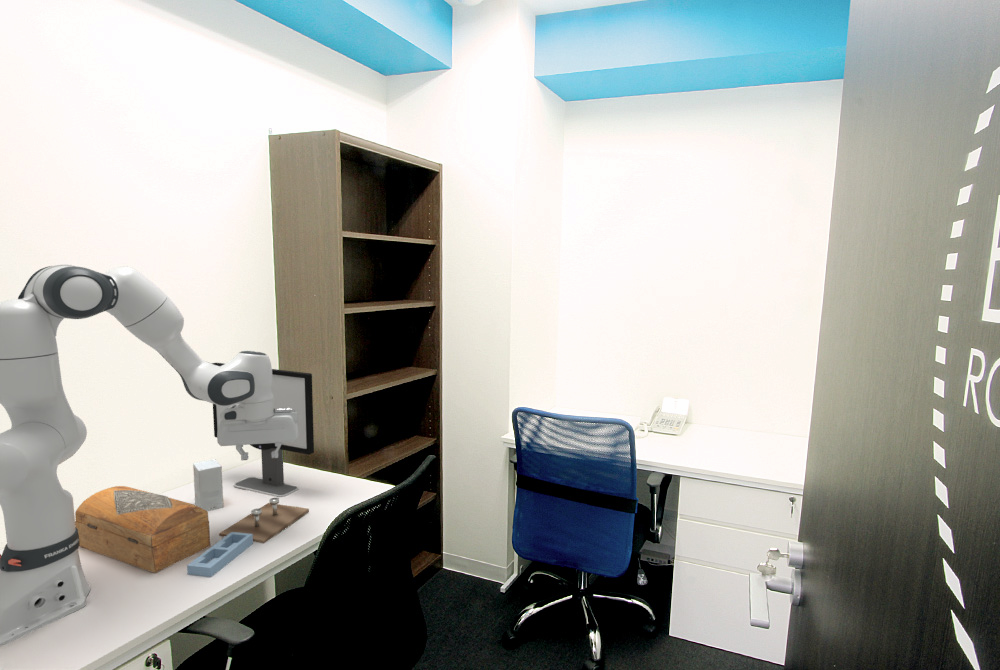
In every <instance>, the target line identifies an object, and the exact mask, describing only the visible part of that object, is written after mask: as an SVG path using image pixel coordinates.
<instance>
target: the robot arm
mask: <svg viewBox="0 0 1000 670" xmlns="http://www.w3.org/2000/svg"><path fill="white" fill-rule="evenodd" d="M104 312H106V313H108V314H110V315H111V316H113V317H114V318H115V319H116V320H117V321H118V322H119V323H120V324H121V326H123V327H124V328H125V329H126V330H127V331H128V332H130V334H132V335H133V336H134V337H136V338H137V339H138V340H139V341H141V342H142V343H143V344H145V345H147V346H149V347H150V348H151V349H153V350H155V351H157V353H158V354H159V355H160V356H161V357H162V358H163V359H164V360H165V361H166V362H167V363H168V364H169V365H170V366H171V367H172V368H173V369H174V370H175V371H176V372H177V374H178V375H179V377H180V378H181V380H182V383H183V386H184V389H185V391H186V393H187V395H189V396H190V397H191V398H193V399H195V400H198V401H204V402H206V403H210V404H212V405H213V404H216V405H220V406H227V405H231V404H235V403H237V402H239V404H236V405H234V406H231V407H228V408H226V409H225V410H224V411H222V412H221V414H220V419H221V420H222V421H221V422H220V423H219V425H218V431H217V440H216V441H217V444H218V445H219V446H220V447H230V446H232V447H233V446H235V450H236V452H238V454H239V455H240V459H241V460H240V461H248V460H249V452H247V451H245V450H244V449H243V448H244V445H245V446H246V445H247V446H248V445H249V444H265V443H275V446H278V447H277V448H276V450H274V451H272V452H271V455H272V458H278V450H279V449H280V447H281V445H282V442H294V441H295V440H296V439H297V437H298V428H297V421H298V414H297V412H296V411H295V410H293V409H292V408H286V409H282V408H280V409H275V408H274V395H273V393H272V384H273V375H272V369H273V368H272V362H271V359H270V357H269V355H268V354H266V353H264V352H260V351H254V350H242V351H239V352H237V354H236V356H235V357H233V358H232V359H231V360H230V361H228V362H226V363H224V365H222V366H217V365H214V364H212V363H213V362H208V361H205V360H204V359H203V358H201V357H200V356H199V354H197V352H196V351H195V350H194V349H193V348H192V347H191V346H190V345H189V344H188V343H187V342H186V341H185V339H184V337H183V336H182V333H181V332H182V331H183V328H184V325H185V320H184V319H185V318H184V316H183V314H182V313H181V311H180V309H179V308H178V307H177V305H176V304H175V303H174V301H172V299H170V297H168V295H167V294H166V293H165V292H164V291H163V290H161V288H160V287H158V285H156V284H155V283H154V282H153V281H151V280H150V279H149V278H148V277H146V276H145V275H144V274H142V273H141V272H140V271H138V270H136V269H135V268H133V267H129V266H117V267H114V268H111V269H109V270H108V271H107V270H106V272H104V273H102V272H99V271H97V270H93V269H90V268H87V267H83V266H76V265H72V264H55V265H49V266H45V267H42V268H41V269H39V270H37V271H35V272H34V273H33V274H32V275H31V276H30V277H29V278H28V280H27V282H26V283H25V285H24V287H23V288H22V290H21V292H20V294H19V295H18V297H17V299H15V298H13V299H8V300H4V301H0V404H1V406H2V407H3V408H4V410H5V412H6V413H7V416H8V417H9V421H10V423H11V427H10V428H9V429H7V430H5V431H3V432H0V509H1V510H2V514H3V521H4V527H5V528H4V529H5V537H6V538H5V539H6V544H5V546H4V549H3V550H2V553H0V647H1V646H5V645H7V644H8V643H11V642H14V641H15V640H17V639H19V638H22V637H24V636H26V635H28V634H30V633H32V632H35V631H37V630H39V629H41V628H43V627H46V626H48V625H50V624H52V623H53V622H56V621H58V620H60V619H62V618H64V617H67V616H68V615H71V614H72V613H74V612H76V611H79V610H80V609H83V608H84V607H85V606H86V605H87V601H86V600H87V599H86V598H87V597H88V595H89V593H90V591H91V585H90V584H89V582H88V580H87V578H86V575H85V572H84V569H83V566H82V565H83V564H82V562H81V557H80V553H79V545H80V542H79V533H78V529H77V528H76V525H75V521H76V518H75V509H74V508H75V506H74V497H73V494H71V492H69V491H68V490H66V489H64V488H63V486H62V484H61V483H60V481H59V478H58V474H57V473H58V467H59V465H61V464H63V463H64V462H65V461H67V460H68V459H69V460H70V459H71V458H72V457H73V456H75V454H76V453H77V452H78V451H79V449H80V448H81V447H82V446H83V444H85V443H84V442H85V441H86V439H87V433H88V430H87V426H86V424H85V422H84V421H83V420H82V419H81V418H80V417H79V416H77V415H76V414H75V413H74V412H73V410H72V408H71V406H70V404H69V401H68V398H67V396H66V394H65V390H64V386H63V382H62V373H61V367H60V360H59V359H60V357H59V349H58V343H57V338H56V337H57V332H58V329H59V325H60V324H61V323H62V321H64V319H67V320H68V319H69V320H70V319H71V320H84V319H87V318H92V317H94V316H97V315H99V314H101V313H104ZM292 411H294V412H292Z"/></svg>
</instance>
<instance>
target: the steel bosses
mask: <svg viewBox="0 0 1000 670" xmlns="http://www.w3.org/2000/svg"><path fill="white" fill-rule="evenodd" d="M268 501H269V502H268V503H270V504H271V505H272V512H273V516H275V515H277V504H279V503H280V497H272V498H270V499H269V500H268ZM259 508H260V507H259ZM259 508H254V509H252V510H251V513H250V514H251V515H252V516H254V519H255V527H259V526H260V525H259V515H261V514H262V509H259Z"/></svg>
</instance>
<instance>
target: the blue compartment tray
mask: <svg viewBox="0 0 1000 670" xmlns="http://www.w3.org/2000/svg"><path fill="white" fill-rule="evenodd" d="M253 544H254V542H253V534H248V533H237V532H231V533H229V534H228V535H227V536H226V537H225V536H223V538H221V539H220V540H219V541H218V542H216V543H214V544H213V545H212V546H210V547H209V548H208V549H207V550H206V551H204V552H203V553H202V554H200V555H198V557H196V558H195V559H193V560H192V561H191V562H190V563H189V564H187V565H186V571H187V572H186V573H187V575H189V576H191V575H192V576H199V577H206V578H207V577H208V578H212V577H213V576H214V575H216V574H217V573H218V572H219V571H221V570H222V569H223V568H224V567H226V566H227V565H228V564H229V563H231V562H232V561H233V560H234V559H236V558H237V557H238V556H239V555H240V554H242V553H243V552H245V551H246V550H247V549H249V547H251V546H253Z"/></svg>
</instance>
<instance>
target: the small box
mask: <svg viewBox="0 0 1000 670" xmlns="http://www.w3.org/2000/svg"><path fill="white" fill-rule="evenodd" d="M192 464H193V465H192V467H193V469H192V470H193V486H194V487H193V489H194V503H195V504H194V505H196V506H198V507H200V508H202V509H204V510H206V511H207V512H209V511H214V510H217V509H218V510H219V509H222V508H224V491H223V490H224V487H223V471H222V470H223V469H222V465H221V464H220V463H219V462H218V461H217V459H215V458H213V459H208V460H204V461H199V462H194V463H192Z"/></svg>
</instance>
